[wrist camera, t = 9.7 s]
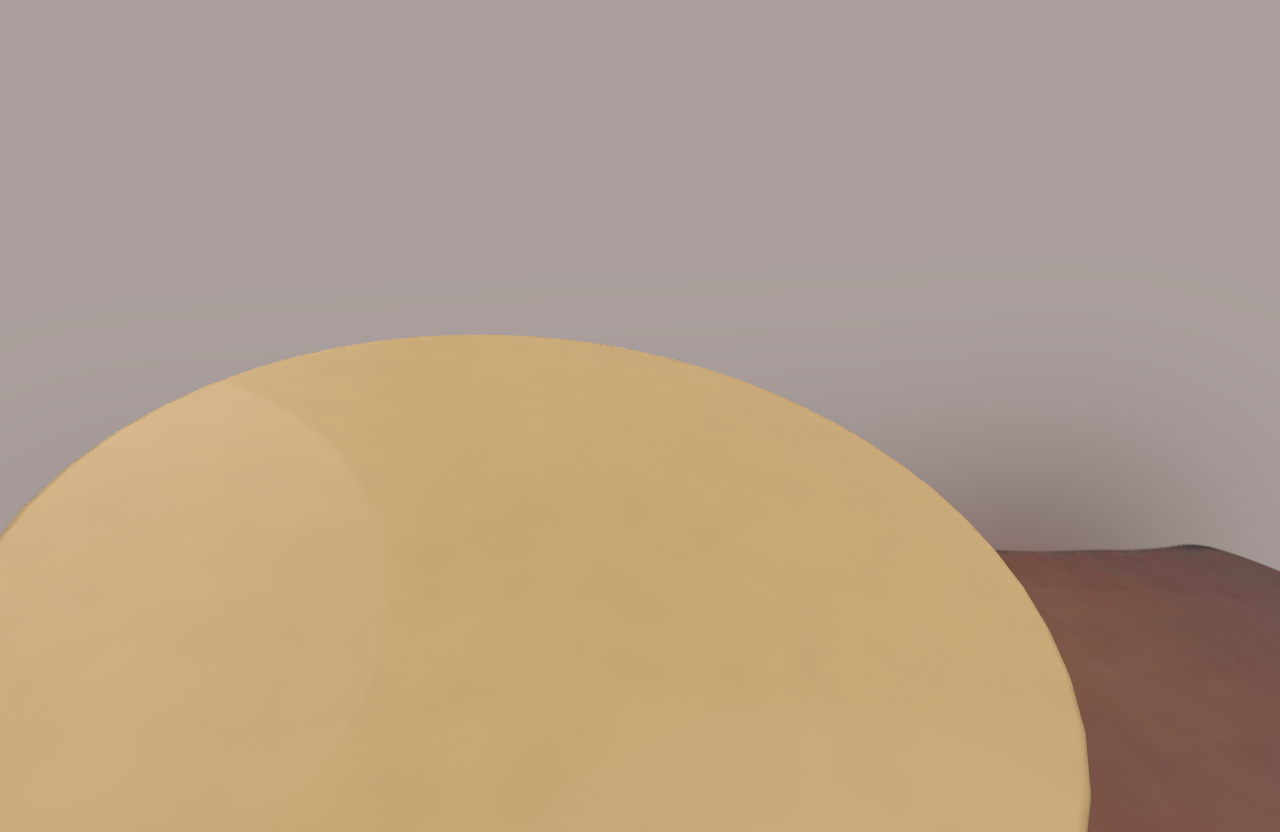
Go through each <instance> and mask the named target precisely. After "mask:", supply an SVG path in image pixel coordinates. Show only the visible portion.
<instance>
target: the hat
mask: <svg viewBox="0 0 1280 832" xmlns="http://www.w3.org/2000/svg"><path fill="white" fill-rule="evenodd" d="M1090 804H1091V792H1090V780H1089V769H1088V758H1087V747H1086V735H1085V730H1084V727H1083V723H1082V719H1081V716H1080V712H1079V708H1078V704H1077V701H1076V697H1075V693H1074V690H1073V686H1072V682H1071V679H1070V676H1069V674H1068V672H1067V669H1066V667H1065V665H1064V663H1063V660H1062V658H1061V656H1060V653H1059V651H1058V649H1057V647H1056V644H1055V642H1054V640H1053V638H1052V635H1051V633H1050V631H1049V629H1048V627H1047V626H1046V624H1045V622H1044V621H1043V619H1042V617H1041V616H1040V614H1039V612H1038V611H1037V609H1036V607H1035V606H1034V604H1033V602H1032V601H1031V599H1030V597H1029V596H1028V594H1027V592H1026V591H1025V589H1024V588H1023V586H1022V585H1021V584H1020V582H1019V581H1018V580H1017V578H1016V577H1015V576H1014V574H1013V573H1012V572H1011V571H1010V569H1009V568H1008V567H1007V565H1006V564H1005V563H1004V561H1003V560H1002V559H1001V558H1000V556H999V555H998V554H997V552H996V551H995V550H994V549H993V548H992V547H991V546H990V545H989V543H988V542H987V541H986V540H985V539H984V538H983V537H982V536H981V535H980V534H979V533H978V532H977V531H976V530H975V528H974V527H973V526H972V525H971V524H970V523H969V522H968V521H967V520H966V519H965V518H964V517H963V516H962V515H961V514H960V513H959V512H958V511H956V510H955V509H954V508H953V507H952V506H951V505H950V504H949V503H948V502H947V501H945V500H944V499H943V498H942V497H941V496H940V495H939V494H938V493H937V492H936V491H934V490H933V489H932V488H931V487H929V486H928V485H927V484H926V483H924V482H923V481H922V480H920V479H919V478H918V477H917V476H915V475H914V474H913V473H911V472H910V471H909V470H908V469H906V468H905V467H904V466H902V465H901V464H899V463H898V462H897V461H895V460H894V459H892V458H891V457H889V456H888V455H886V454H885V453H883V452H882V451H880V450H879V449H877V448H876V447H874V446H873V445H871V444H870V443H868V442H867V441H865V440H863V439H862V438H860V437H858V436H856V435H855V434H853V433H851V432H850V431H848V430H846V429H844V428H843V427H841V426H839V425H837V424H836V423H834V422H832V421H830V420H828V419H826V418H824V417H822V416H820V415H818V414H816V413H814V412H812V411H811V410H808V409H807V408H805V407H803V406H800V405H798V404H796V403H794V402H791V401H789V400H787V399H785V398H782V397H780V396H778V395H776V394H773V393H771V392H769V391H766V390H764V389H761V388H759V387H756V386H753V385H751V384H748V383H746V382H743V381H740V380H738V379H735V378H732V377H729V376H726V375H723V374H720V373H717V372H714V371H711V370H708V369H705V368H702V367H698V366H695V365H691V364H687V363H684V362H680V361H677V360H673V359H669V358H665V357H661V356H656V355H652V354H648V353H644V352H639V351H635V350H629V349H624V348H618V347H613V346H608V345H602V344H595V343H588V342H581V341H573V340H566V339H555V338H543V337H533V336H512V335H444V336H424V337H411V338H402V339H393V340H384V341H375V342H368V343H362V344H356V345H350V346H343V347H337V348H332V349H328V350H323V351H319V352H314V353H310V354H305V355H300V356H297V357H292V358H289V359H285V360H282V361H278V362H275V363H271V364H268V365H264V366H261V367H257V368H254V369H251V370H248V371H245V372H242V373H239V374H237V375H234V376H231V377H228V378H226V379H223V380H220V381H217V382H215V383H212V384H210V385H207V386H204V387H202V388H200V389H198V390H195V391H193V392H191V393H189V394H187V395H184V396H182V397H180V398H178V399H176V400H174V401H171V402H169V403H167V404H165V405H163V406H161V407H159V408H157V409H155V410H153V411H151V412H150V413H148V414H146V415H144V416H143V417H141V418H139V419H137V420H136V421H134V422H132V423H131V424H129V425H127V426H125V427H124V428H122V429H120V430H118V431H117V432H115V433H113V434H112V435H110V436H109V437H107V438H106V439H105V440H103V441H102V442H100V443H99V444H98V445H96V446H95V447H94V448H92V449H91V450H89V451H88V452H87V453H85V454H84V455H82V456H81V457H80V458H78V459H77V460H75V461H74V462H73V463H71V464H70V465H68V466H67V467H66V468H65V469H64V470H63V471H61V472H60V473H59V474H58V475H57V476H56V477H55V478H54V479H53V480H52V481H51V482H50V483H48V484H47V485H46V486H45V487H44V488H43V489H42V490H41V491H40V492H39V493H38V494H37V495H36V496H34V497H33V498H32V499H31V500H30V501H29V502H28V503H27V504H26V505H25V506H24V507H23V508H21V510H20V511H19V512H18V513H17V515H16V516H15V517H14V518H13V520H12V521H11V522H10V523H9V525H8V526H7V527H6V528H5V530H4V531H3V532H2V533H1V535H0V832H1087V831H1088V822H1089V813H1090Z"/></svg>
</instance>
